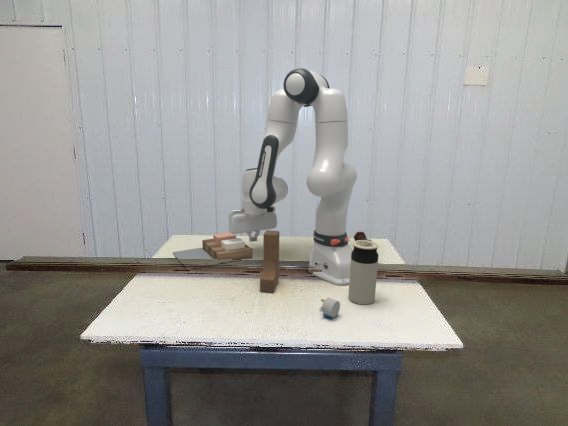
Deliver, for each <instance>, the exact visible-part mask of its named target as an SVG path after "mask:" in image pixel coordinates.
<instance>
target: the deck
mask: <svg viewBox="0 0 568 426" xmlns="http://www.w3.org/2000/svg"><path fill="white" fill-rule="evenodd" d="M236 239H237V237H236ZM201 245H202V249H204V250H205V251H206V252H207V253H208V254H209V255H210V256H211V257H212V258H213V259H218V260H221V259H232V260H239V261H243V260H242V259H245V260H250V259H253V248H252V247H250V246H249V245H247V244H246V243H245V248H239V249H233V250H227V251H226V250H225V249H223V248H222V247H221V243H220V244H217V243H216V242H215V241H214V240H213V238H207V239H203V240H202V244H201Z"/></svg>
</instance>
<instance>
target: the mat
mask: <svg viewBox="0 0 568 426" xmlns="http://www.w3.org/2000/svg"><path fill="white" fill-rule="evenodd" d="M172 255H173V256H174V257H175V258H176V259H177V258H178V259H213V258H212V257H211V256H210V255H209V254H208V253H207V252H206V251H205V250H204V249H203V247H196V248H191V249H182V250H177V251H172ZM178 259H177V260H178Z"/></svg>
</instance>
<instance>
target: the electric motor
mask: <svg viewBox="0 0 568 426" xmlns="http://www.w3.org/2000/svg"><path fill="white" fill-rule="evenodd" d="M321 302H322V306H321V307H320V308H319V312H321V313H322V314H323V317H326V318H329V319H331V320H332V319H334V318H335V317H337V316H338V314H339V312H340V309H341V302H340V301H339V300H336V299H333V298H330V297H327V298H321Z"/></svg>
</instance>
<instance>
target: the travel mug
mask: <svg viewBox="0 0 568 426" xmlns="http://www.w3.org/2000/svg"><path fill="white" fill-rule="evenodd" d="M368 240H369V239H368ZM368 240H357V241H355V240H354V241H353V242H352V245H353V248H352V250H353V251H352V253H351V266H350V281H349V284H348V299H349V300H350V301H351V302H353V303H355V304H357V305H369V304H373V303H374V302H375V301H376V289H377V278H378V277H377V276H378V266H379V253H378V248H379V244H378V242H375V241H373V240H372V241H368Z"/></svg>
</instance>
